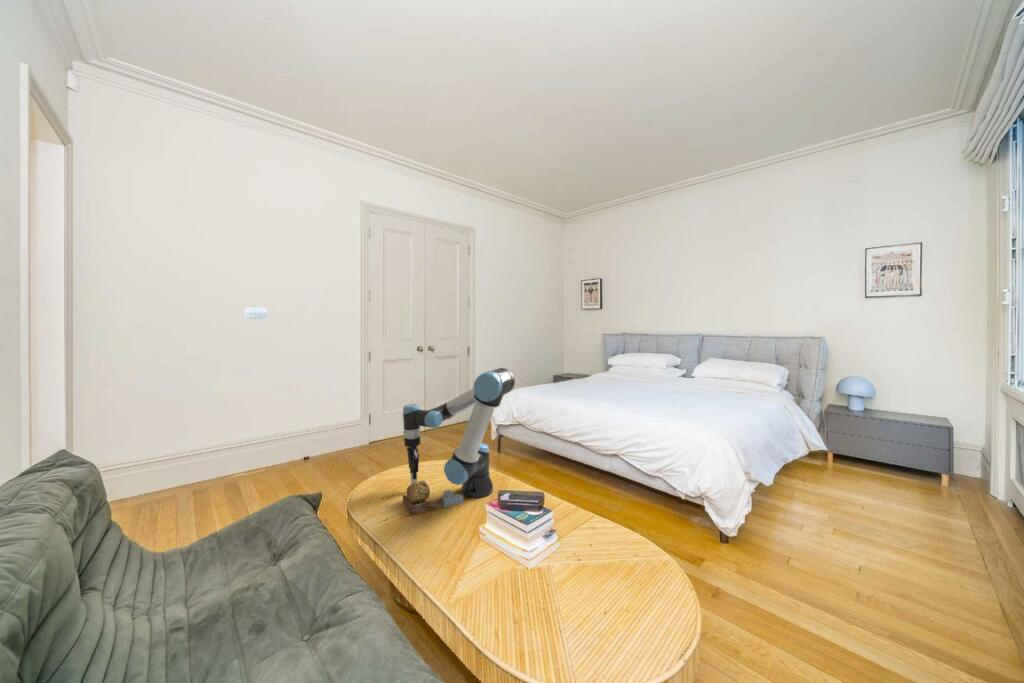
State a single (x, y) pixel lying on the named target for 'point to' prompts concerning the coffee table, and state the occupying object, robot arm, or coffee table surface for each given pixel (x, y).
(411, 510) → the brown l-shaped block
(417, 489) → the rock
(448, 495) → the t block
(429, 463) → the coffee table surface
